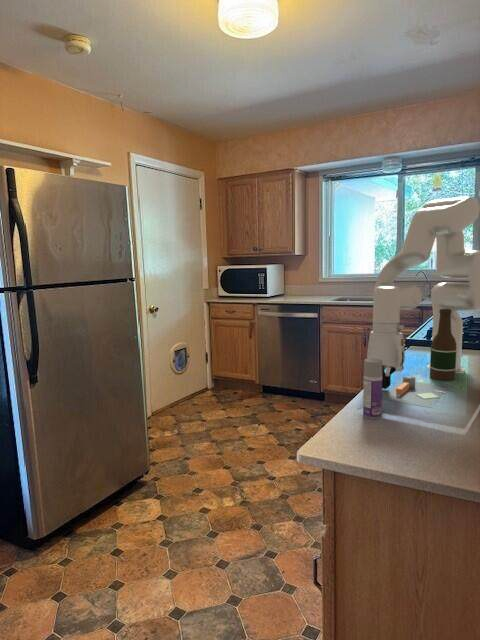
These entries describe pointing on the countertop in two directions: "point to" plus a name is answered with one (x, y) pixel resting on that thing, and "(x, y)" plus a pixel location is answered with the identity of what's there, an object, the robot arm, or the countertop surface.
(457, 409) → the countertop surface
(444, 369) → the beer bottle
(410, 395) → the tuner board
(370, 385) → the container
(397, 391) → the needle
